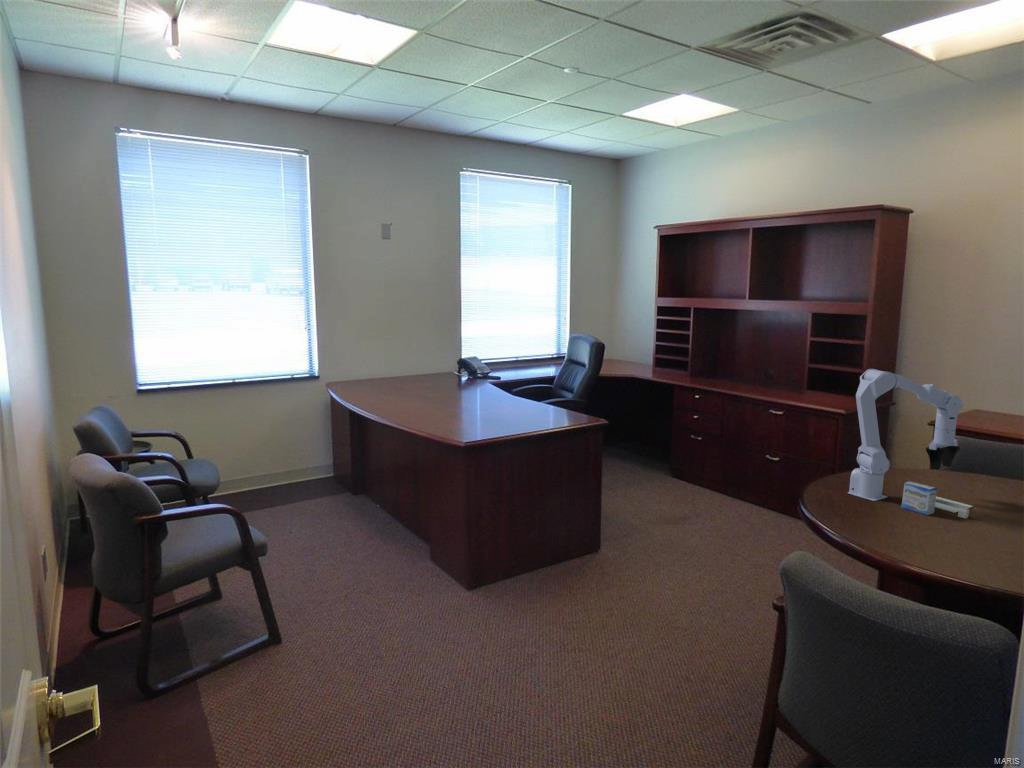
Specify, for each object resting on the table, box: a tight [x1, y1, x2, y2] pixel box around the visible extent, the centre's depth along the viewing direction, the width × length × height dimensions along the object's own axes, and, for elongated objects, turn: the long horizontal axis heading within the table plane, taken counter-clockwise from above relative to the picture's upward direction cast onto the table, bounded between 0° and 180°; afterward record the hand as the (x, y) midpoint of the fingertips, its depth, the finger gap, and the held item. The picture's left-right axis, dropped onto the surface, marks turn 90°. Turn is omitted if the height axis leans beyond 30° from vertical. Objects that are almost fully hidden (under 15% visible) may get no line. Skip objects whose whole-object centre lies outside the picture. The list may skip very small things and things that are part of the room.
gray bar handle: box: [957, 509, 970, 519], centre depth 196 cm, size 18×2×2 cm, turn 30°
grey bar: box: [935, 498, 970, 510], centre depth 195 cm, size 18×1×1 cm, turn 30°
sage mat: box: [935, 495, 974, 514], centre depth 201 cm, size 14×12×1 cm
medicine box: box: [901, 481, 938, 516], centre depth 194 cm, size 8×4×9 cm, turn 30°
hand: (940, 467), depth 206 cm, fingers open, 7 cm apart
